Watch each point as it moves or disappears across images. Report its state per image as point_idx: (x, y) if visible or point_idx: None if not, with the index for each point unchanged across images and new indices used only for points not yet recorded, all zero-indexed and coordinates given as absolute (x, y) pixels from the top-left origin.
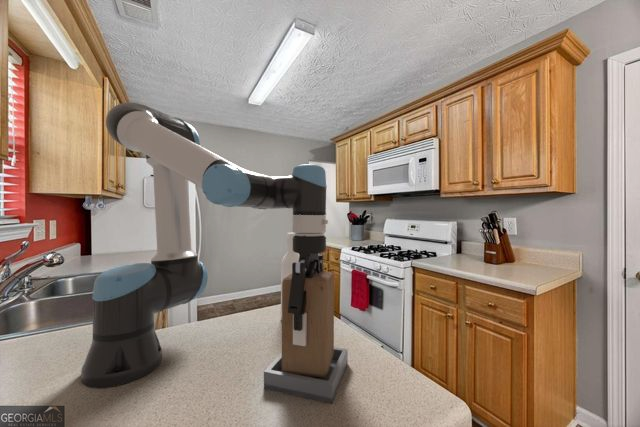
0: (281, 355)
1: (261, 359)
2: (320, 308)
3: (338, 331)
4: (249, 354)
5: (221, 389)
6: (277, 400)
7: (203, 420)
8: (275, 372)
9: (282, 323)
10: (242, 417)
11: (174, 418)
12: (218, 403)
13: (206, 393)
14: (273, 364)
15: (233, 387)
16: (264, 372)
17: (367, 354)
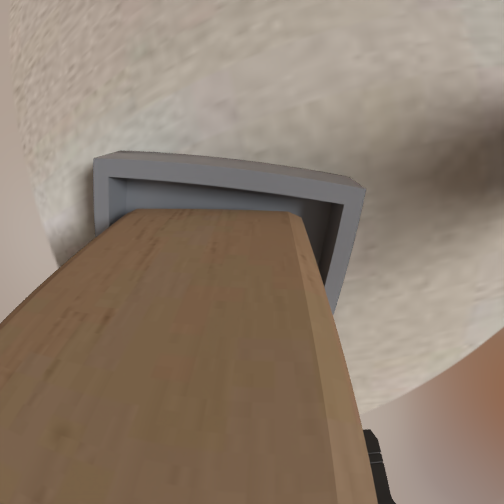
0: (215, 179)
1: (290, 63)
2: None
3: (494, 306)
4: (318, 8)
5: (97, 35)
6: (92, 209)
7: (13, 83)
8: (100, 200)
9: (15, 310)
10: (31, 155)
11: (14, 27)
12: (52, 70)
13: (79, 14)
14: (142, 171)
15: (109, 59)
16: (95, 159)
17: (356, 391)
